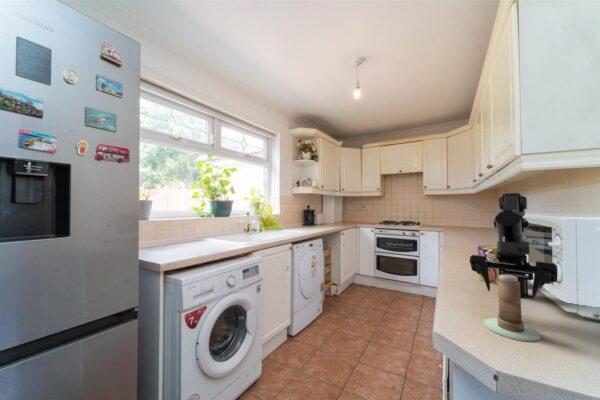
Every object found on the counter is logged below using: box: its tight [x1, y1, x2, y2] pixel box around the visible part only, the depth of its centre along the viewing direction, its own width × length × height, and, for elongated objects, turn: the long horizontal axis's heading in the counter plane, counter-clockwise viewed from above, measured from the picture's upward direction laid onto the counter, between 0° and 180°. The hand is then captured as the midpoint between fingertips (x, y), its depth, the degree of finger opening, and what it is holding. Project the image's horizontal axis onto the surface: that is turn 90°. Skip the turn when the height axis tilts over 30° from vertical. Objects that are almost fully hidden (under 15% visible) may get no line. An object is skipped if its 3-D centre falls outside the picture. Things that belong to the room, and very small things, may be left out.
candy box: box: [477, 243, 503, 285], centre depth 100 cm, size 9×4×15 cm, turn 26°
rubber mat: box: [483, 317, 542, 342], centre depth 62 cm, size 11×11×1 cm
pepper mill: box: [496, 275, 525, 333], centre depth 63 cm, size 5×5×13 cm
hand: (510, 293), depth 65 cm, fingers open, 9 cm apart
